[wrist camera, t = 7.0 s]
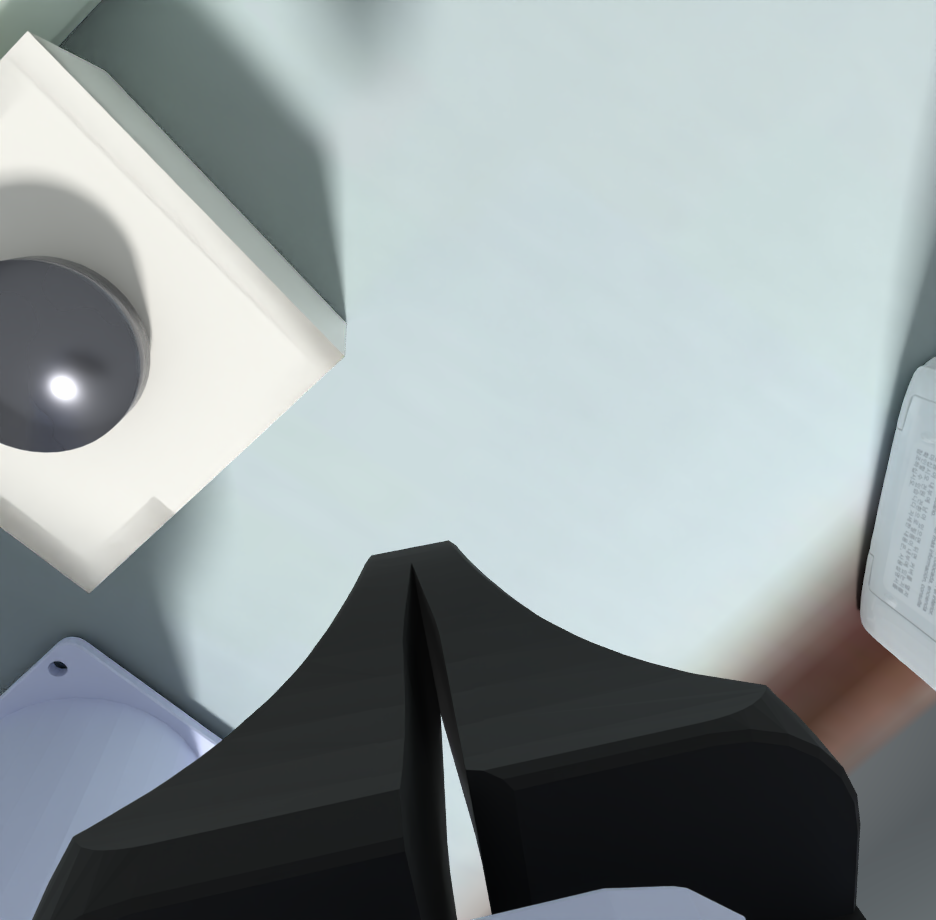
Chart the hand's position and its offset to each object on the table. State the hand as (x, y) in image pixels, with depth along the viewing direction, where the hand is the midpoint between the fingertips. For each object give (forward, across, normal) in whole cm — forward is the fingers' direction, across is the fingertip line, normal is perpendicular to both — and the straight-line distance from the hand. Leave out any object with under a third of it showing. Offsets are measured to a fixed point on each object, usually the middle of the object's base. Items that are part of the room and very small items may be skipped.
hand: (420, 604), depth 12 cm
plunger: (+10, +6, -4) cm, 12 cm away
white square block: (+10, +6, -4) cm, 13 cm away
